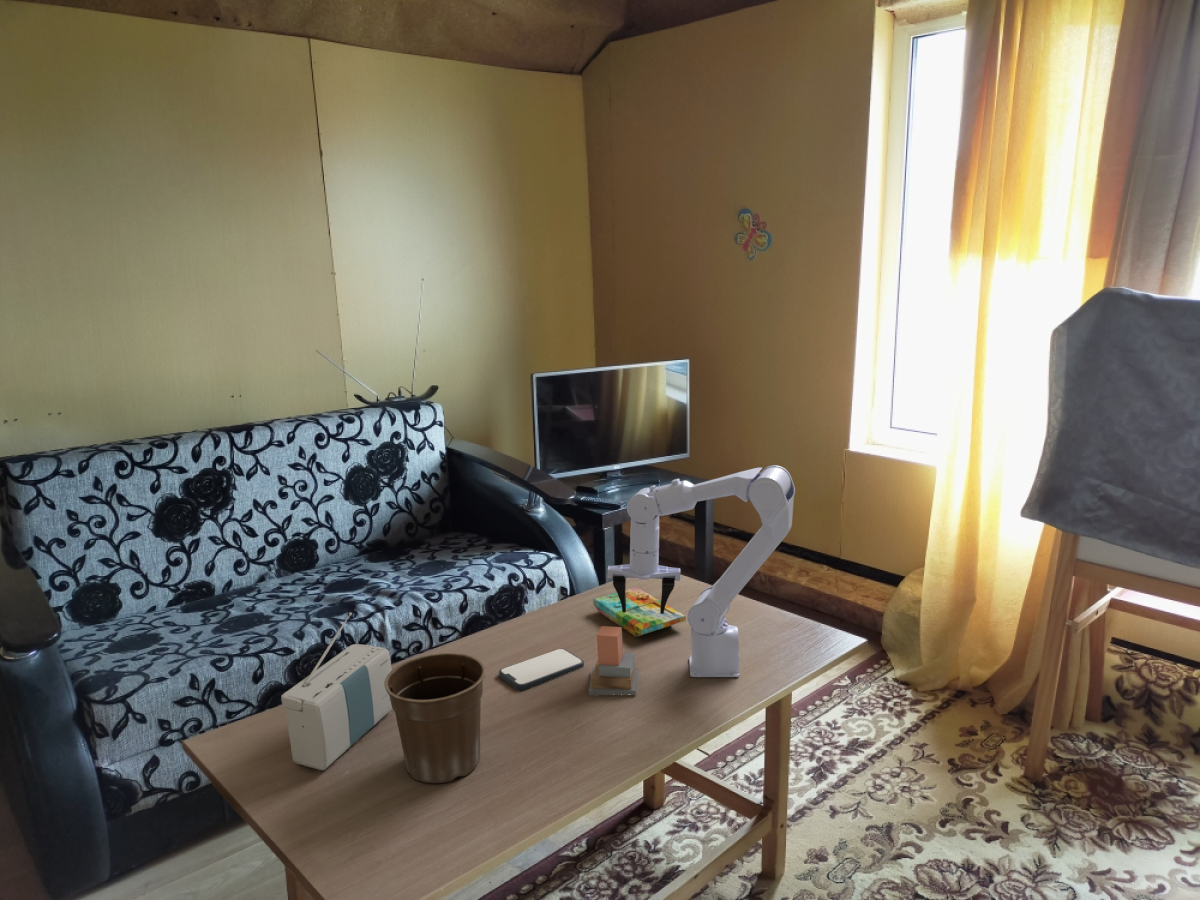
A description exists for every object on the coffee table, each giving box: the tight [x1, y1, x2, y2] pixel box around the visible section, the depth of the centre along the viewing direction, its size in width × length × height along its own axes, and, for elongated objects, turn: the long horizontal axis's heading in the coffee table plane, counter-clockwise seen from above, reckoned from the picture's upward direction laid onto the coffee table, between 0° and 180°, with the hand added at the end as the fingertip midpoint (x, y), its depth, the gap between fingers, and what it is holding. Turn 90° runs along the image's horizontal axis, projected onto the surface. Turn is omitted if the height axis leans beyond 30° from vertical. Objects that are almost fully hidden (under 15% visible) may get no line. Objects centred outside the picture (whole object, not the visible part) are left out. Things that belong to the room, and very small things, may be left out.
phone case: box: [498, 648, 585, 692], centre depth 170 cm, size 9×2×16 cm
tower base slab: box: [588, 666, 639, 696], centre depth 164 cm, size 9×9×2 cm
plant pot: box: [384, 652, 486, 784], centre depth 139 cm, size 16×16×16 cm
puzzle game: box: [592, 586, 687, 638], centre depth 190 cm, size 12×5×20 cm
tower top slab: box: [599, 652, 636, 677], centre depth 163 cm, size 6×6×2 cm
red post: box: [596, 625, 624, 665], centre depth 162 cm, size 4×4×6 cm
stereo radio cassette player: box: [280, 612, 393, 771], centre depth 147 cm, size 21×8×20 cm, turn 160°
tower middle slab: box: [592, 659, 636, 689], centre depth 164 cm, size 8×8×2 cm
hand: (643, 611), depth 171 cm, fingers open, 7 cm apart
